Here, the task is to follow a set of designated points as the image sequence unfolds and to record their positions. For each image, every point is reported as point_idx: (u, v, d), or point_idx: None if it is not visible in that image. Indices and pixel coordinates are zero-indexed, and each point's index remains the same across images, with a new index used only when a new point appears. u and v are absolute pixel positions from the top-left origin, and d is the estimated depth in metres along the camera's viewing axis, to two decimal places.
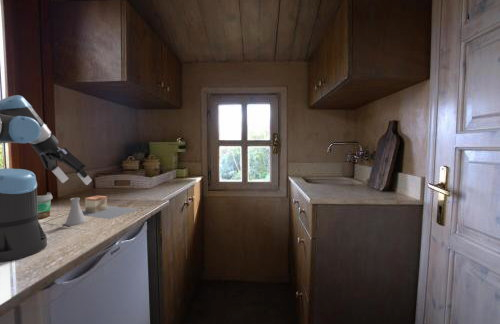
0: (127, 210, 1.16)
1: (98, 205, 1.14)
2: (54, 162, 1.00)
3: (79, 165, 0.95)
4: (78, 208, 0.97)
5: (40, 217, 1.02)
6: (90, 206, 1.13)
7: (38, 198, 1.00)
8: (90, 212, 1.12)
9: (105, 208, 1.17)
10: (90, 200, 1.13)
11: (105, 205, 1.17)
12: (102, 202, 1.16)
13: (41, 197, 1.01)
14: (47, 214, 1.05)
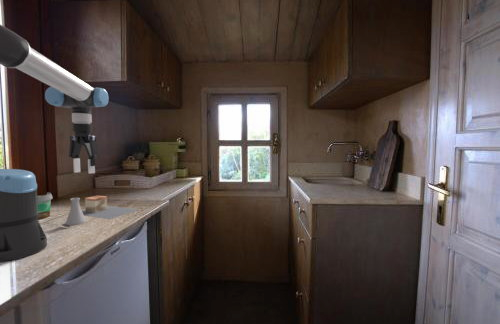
0: (127, 210, 1.16)
1: (98, 205, 1.14)
2: (79, 150, 1.18)
3: (95, 153, 1.14)
4: (78, 208, 0.97)
5: (40, 217, 1.02)
6: (90, 206, 1.13)
7: (38, 198, 1.00)
8: (90, 212, 1.12)
9: (105, 208, 1.17)
10: (90, 200, 1.13)
11: (105, 205, 1.17)
12: (102, 202, 1.16)
13: (41, 197, 1.01)
14: (47, 214, 1.05)
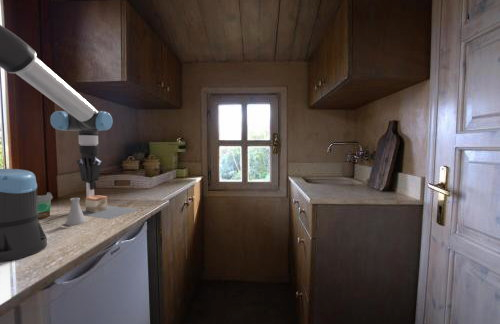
0: (127, 210, 1.16)
1: (98, 205, 1.14)
2: None
3: (95, 177, 1.15)
4: (78, 208, 0.97)
5: (40, 217, 1.02)
6: (90, 206, 1.13)
7: (38, 198, 1.00)
8: (90, 212, 1.12)
9: (105, 208, 1.17)
10: (90, 200, 1.13)
11: (105, 205, 1.17)
12: (102, 202, 1.15)
13: (41, 197, 1.01)
14: (47, 214, 1.05)
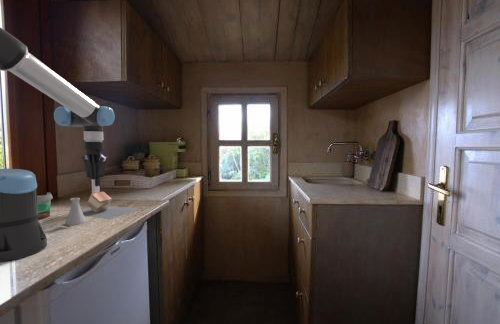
0: (127, 210, 1.16)
1: (101, 206, 1.13)
2: None
3: (101, 174, 1.14)
4: (78, 208, 0.97)
5: (40, 217, 1.02)
6: (93, 204, 1.13)
7: (38, 198, 1.00)
8: (90, 212, 1.12)
9: (105, 208, 1.17)
10: (95, 199, 1.12)
11: (107, 206, 1.17)
12: (105, 204, 1.15)
13: (41, 197, 1.01)
14: (47, 214, 1.05)
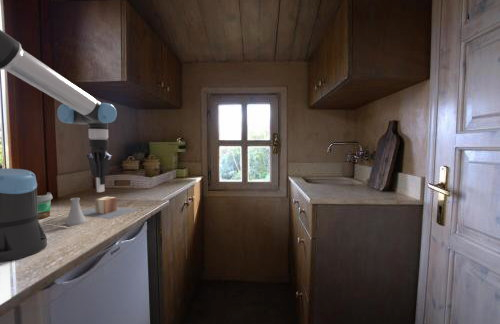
0: (127, 210, 1.16)
1: None
2: None
3: (106, 172, 1.12)
4: (78, 208, 0.97)
5: (40, 217, 1.02)
6: (99, 206, 1.11)
7: (38, 198, 1.00)
8: (90, 212, 1.12)
9: None
10: (103, 207, 1.10)
11: None
12: None
13: (41, 197, 1.01)
14: (47, 214, 1.05)
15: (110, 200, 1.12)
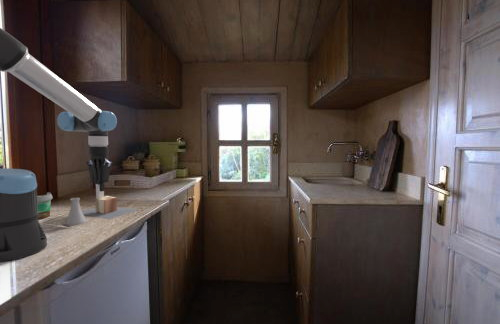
0: (127, 210, 1.16)
1: None
2: None
3: (105, 179, 1.13)
4: (78, 208, 0.97)
5: (40, 217, 1.02)
6: (99, 206, 1.11)
7: (38, 198, 1.00)
8: (90, 212, 1.12)
9: None
10: (104, 207, 1.10)
11: None
12: None
13: (41, 197, 1.01)
14: (47, 214, 1.05)
15: (110, 200, 1.12)
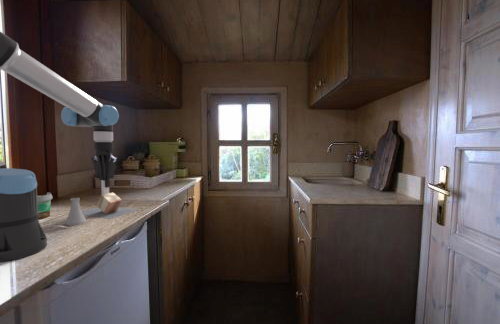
0: (127, 210, 1.16)
1: None
2: None
3: (111, 175, 1.12)
4: (78, 208, 0.97)
5: (40, 217, 1.02)
6: (102, 203, 1.11)
7: (38, 198, 1.00)
8: (90, 212, 1.12)
9: None
10: (106, 207, 1.10)
11: None
12: None
13: (41, 197, 1.01)
14: (47, 214, 1.05)
15: (115, 202, 1.12)
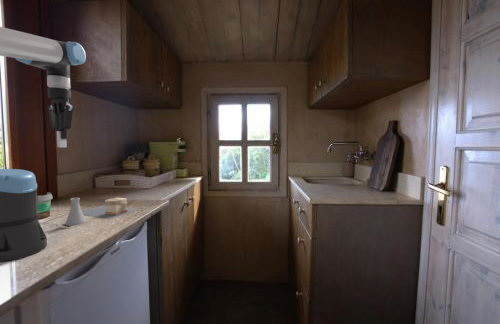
0: (127, 210, 1.16)
1: None
2: None
3: (67, 125, 1.02)
4: (78, 208, 0.97)
5: (40, 217, 1.02)
6: (110, 206, 1.09)
7: (38, 198, 1.00)
8: (90, 212, 1.12)
9: None
10: (110, 212, 1.09)
11: None
12: None
13: (41, 197, 1.01)
14: (47, 214, 1.05)
15: None
